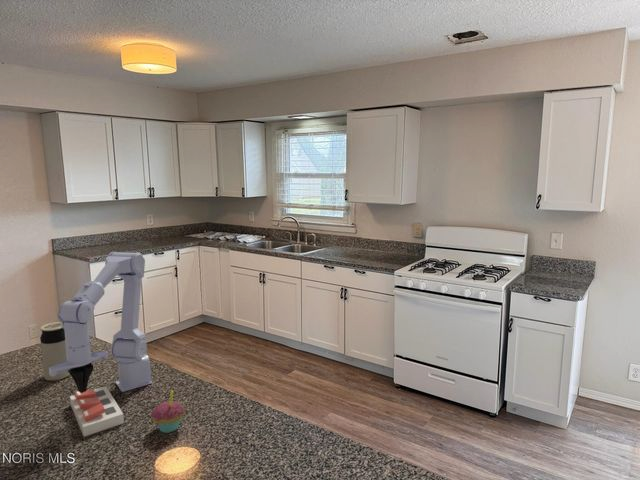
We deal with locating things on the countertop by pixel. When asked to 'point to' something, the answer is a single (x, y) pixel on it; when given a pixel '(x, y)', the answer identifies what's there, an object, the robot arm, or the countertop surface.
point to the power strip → (103, 421)
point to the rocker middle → (88, 402)
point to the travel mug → (53, 349)
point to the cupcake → (168, 415)
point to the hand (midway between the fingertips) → (82, 391)
